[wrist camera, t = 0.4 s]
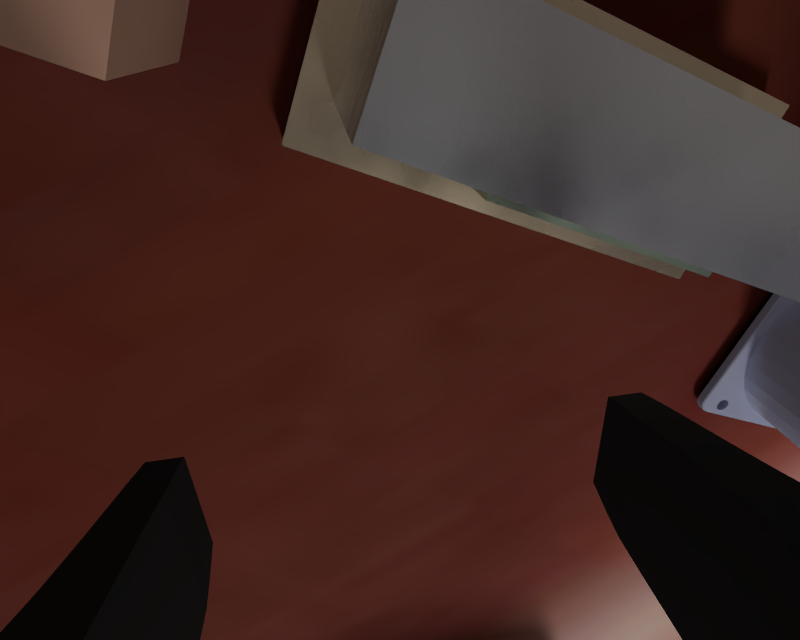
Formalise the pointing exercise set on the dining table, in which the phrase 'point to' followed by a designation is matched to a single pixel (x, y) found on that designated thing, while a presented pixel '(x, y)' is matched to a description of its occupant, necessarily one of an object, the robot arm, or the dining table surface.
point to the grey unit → (558, 130)
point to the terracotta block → (96, 33)
